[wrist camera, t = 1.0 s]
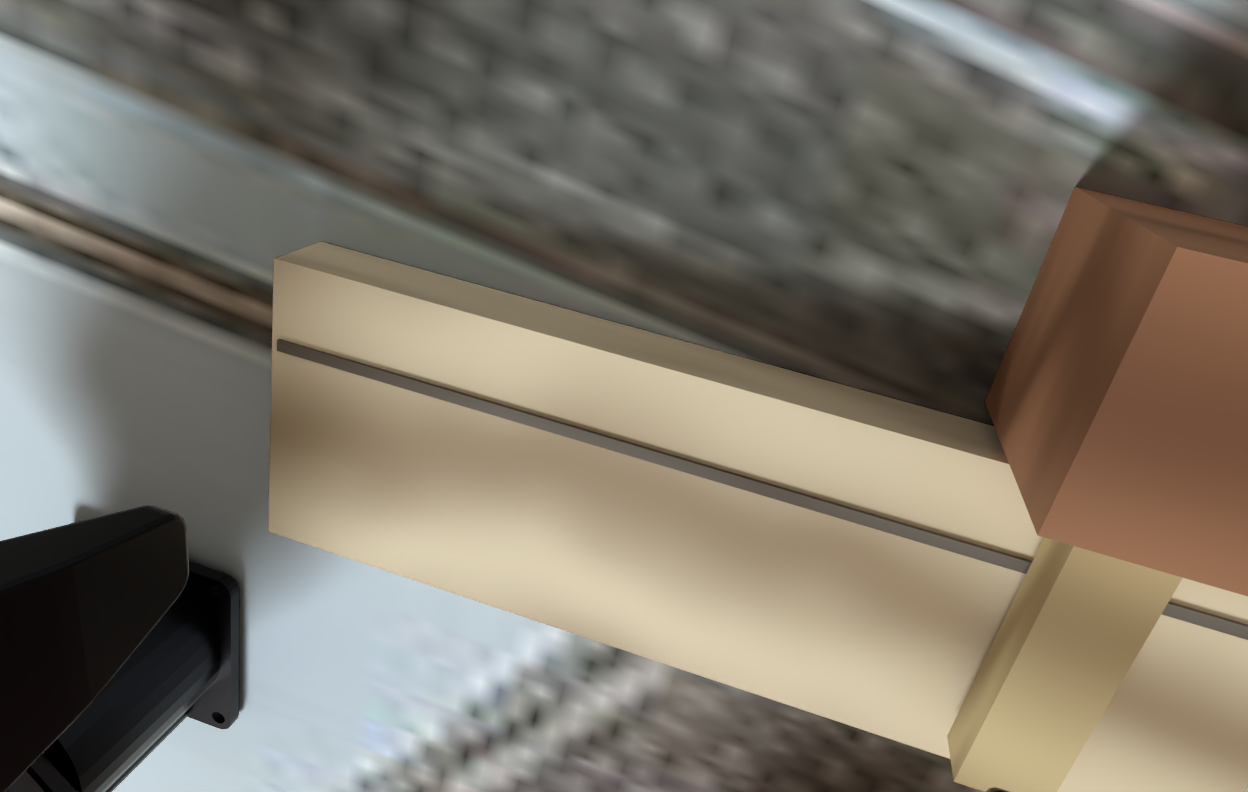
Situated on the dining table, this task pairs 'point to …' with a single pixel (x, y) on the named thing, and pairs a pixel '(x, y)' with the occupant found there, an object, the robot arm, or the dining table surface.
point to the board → (698, 512)
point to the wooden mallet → (1111, 471)
